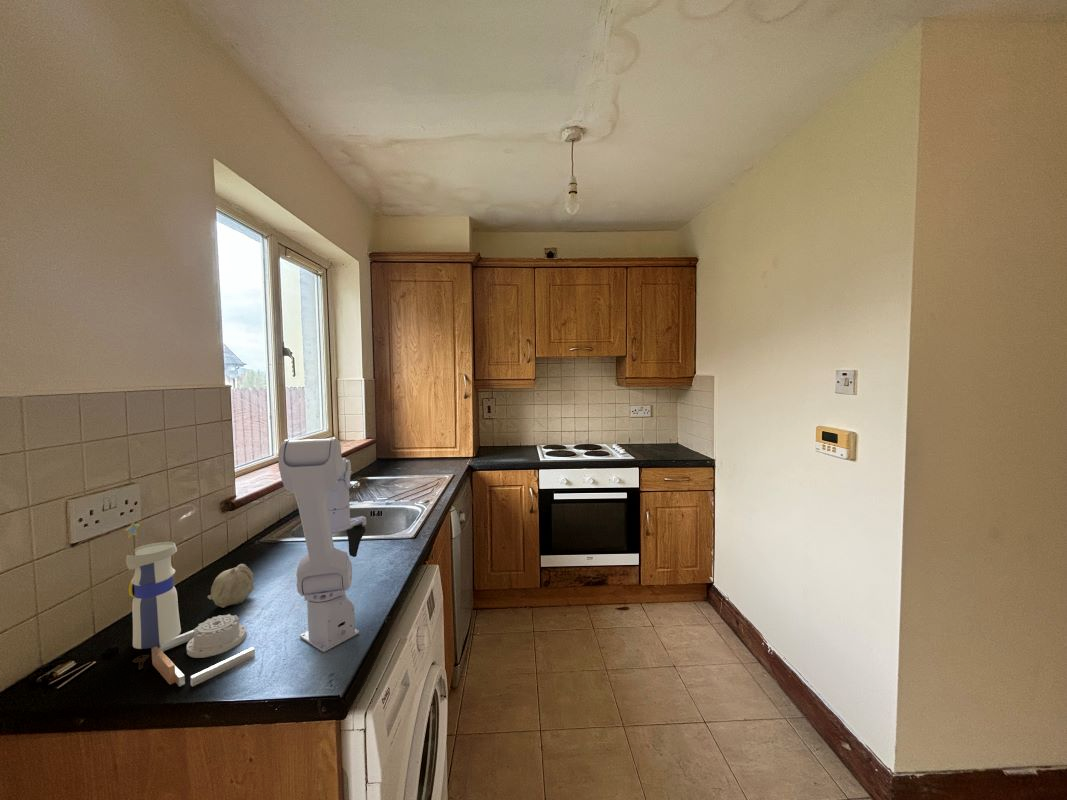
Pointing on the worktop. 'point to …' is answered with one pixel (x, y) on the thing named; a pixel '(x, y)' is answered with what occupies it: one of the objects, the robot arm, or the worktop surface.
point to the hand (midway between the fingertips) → (338, 561)
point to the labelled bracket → (176, 675)
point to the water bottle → (153, 593)
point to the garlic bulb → (232, 586)
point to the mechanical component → (216, 636)
